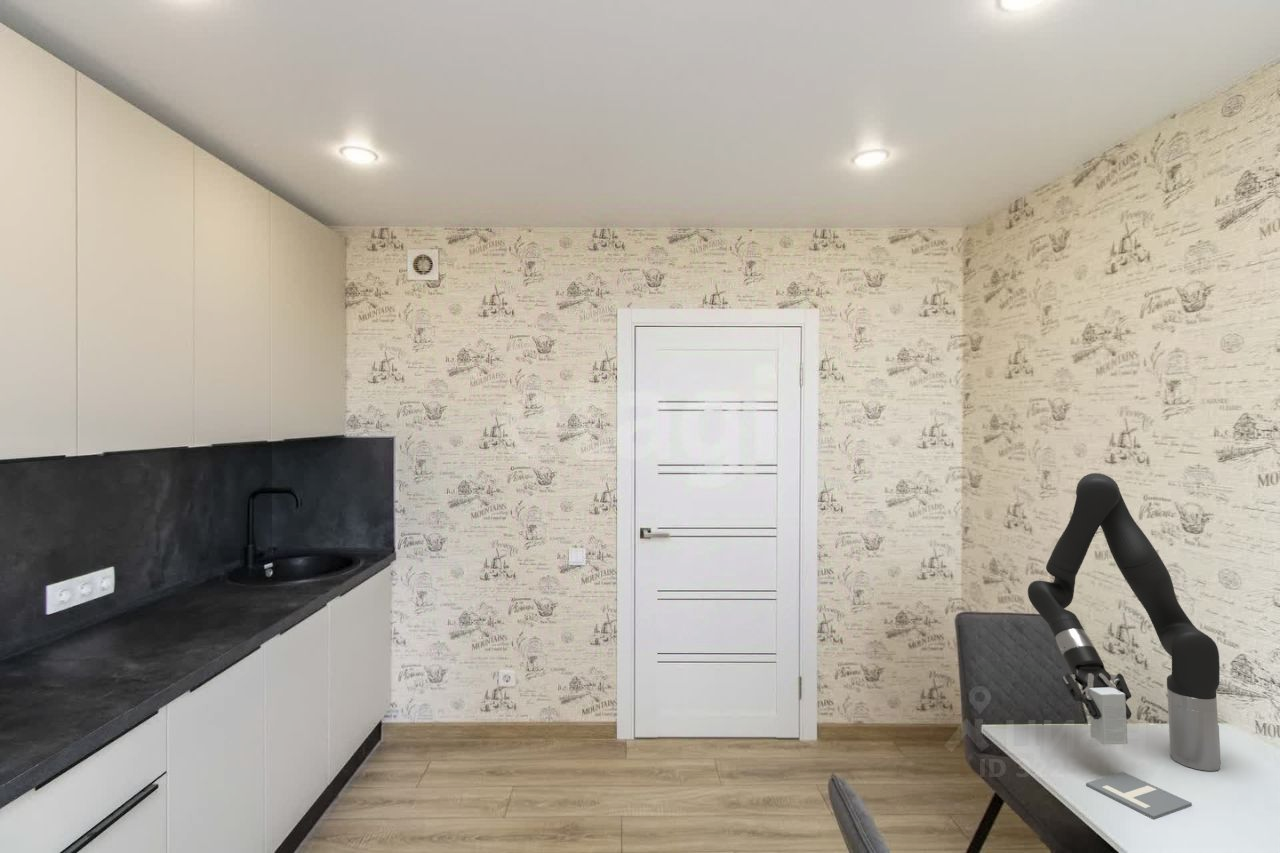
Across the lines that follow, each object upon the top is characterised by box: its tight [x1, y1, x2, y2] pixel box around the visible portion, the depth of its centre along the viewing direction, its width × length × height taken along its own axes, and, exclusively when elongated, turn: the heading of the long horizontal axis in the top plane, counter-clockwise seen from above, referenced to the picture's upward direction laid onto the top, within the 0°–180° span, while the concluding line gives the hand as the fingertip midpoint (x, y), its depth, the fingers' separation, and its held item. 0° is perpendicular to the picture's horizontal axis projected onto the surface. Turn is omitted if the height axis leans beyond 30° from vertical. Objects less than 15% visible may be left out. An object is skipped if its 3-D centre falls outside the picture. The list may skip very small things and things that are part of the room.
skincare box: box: [1089, 687, 1129, 746], centre depth 148 cm, size 6×4×12 cm
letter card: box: [1085, 771, 1193, 820], centre depth 139 cm, size 13×14×1 cm
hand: (1112, 717), depth 146 cm, fingers closed on skincare box, 6 cm apart
